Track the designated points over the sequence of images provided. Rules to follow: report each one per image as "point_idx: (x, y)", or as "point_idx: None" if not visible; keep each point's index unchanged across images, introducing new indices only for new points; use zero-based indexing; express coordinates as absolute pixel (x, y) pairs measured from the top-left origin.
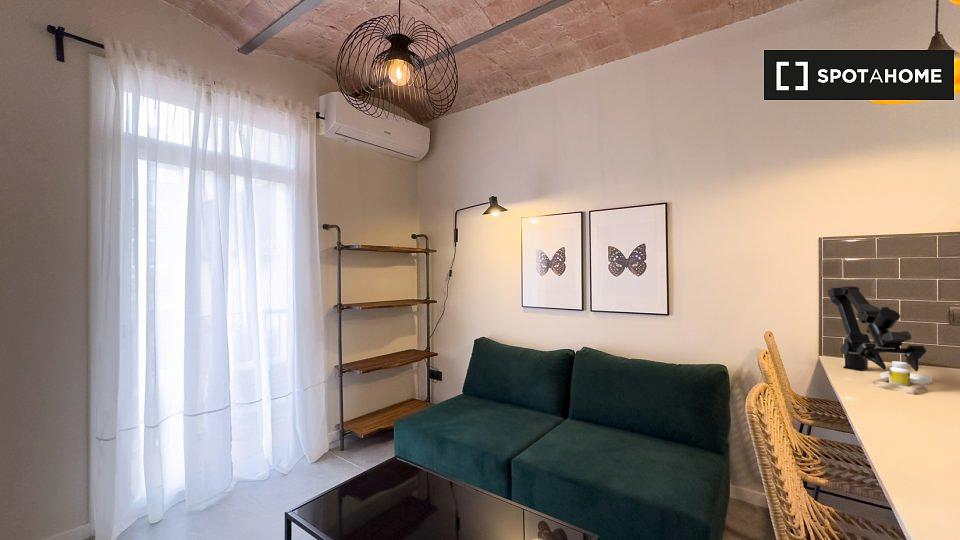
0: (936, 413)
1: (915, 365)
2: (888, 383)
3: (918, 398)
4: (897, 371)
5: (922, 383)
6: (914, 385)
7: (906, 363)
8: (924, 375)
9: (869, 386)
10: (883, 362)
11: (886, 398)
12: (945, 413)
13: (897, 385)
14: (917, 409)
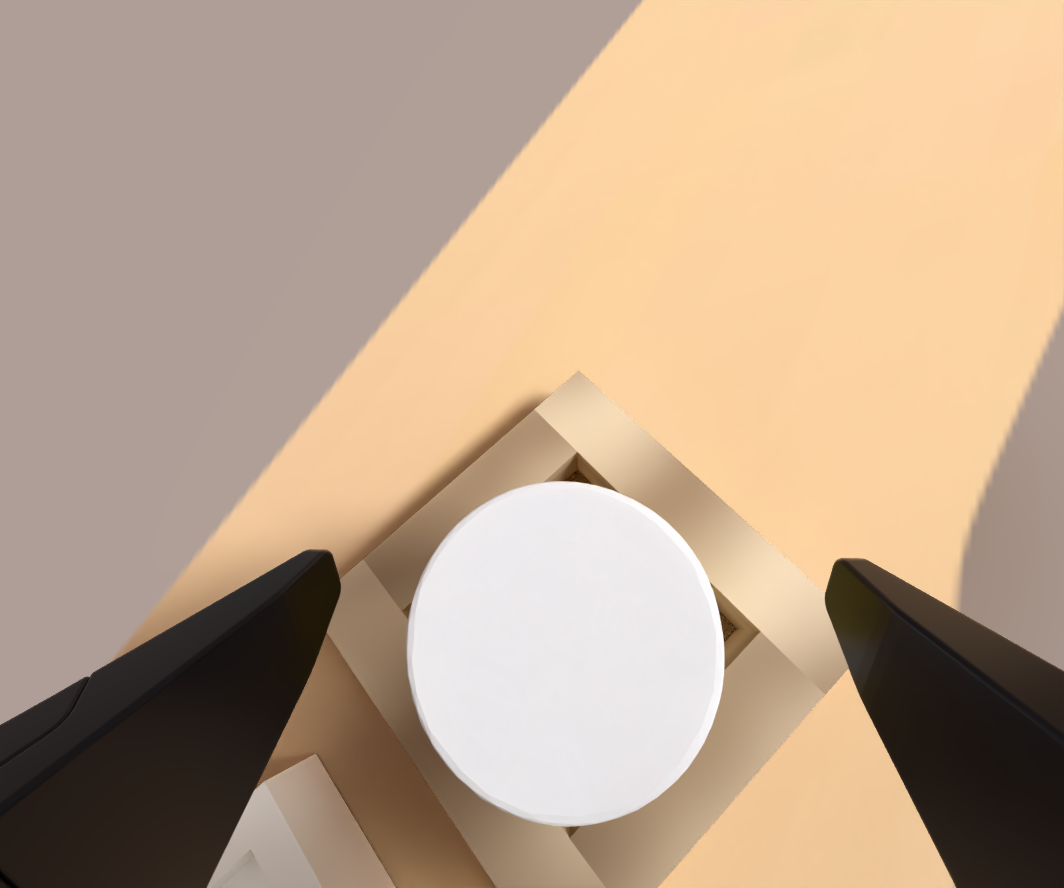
0: (685, 28)
1: (268, 599)
2: (723, 549)
3: (605, 295)
4: (654, 512)
5: None
6: None
7: (457, 535)
8: None
9: None
10: (952, 649)
11: (860, 222)
12: (634, 43)
13: (664, 477)
14: (756, 58)
